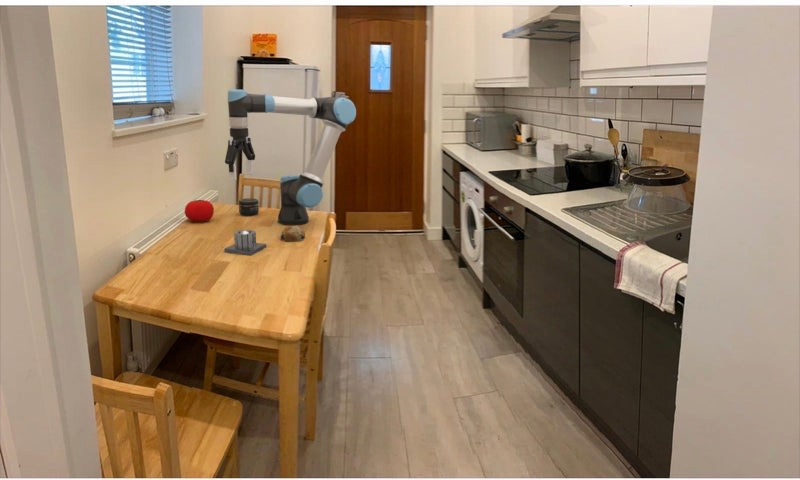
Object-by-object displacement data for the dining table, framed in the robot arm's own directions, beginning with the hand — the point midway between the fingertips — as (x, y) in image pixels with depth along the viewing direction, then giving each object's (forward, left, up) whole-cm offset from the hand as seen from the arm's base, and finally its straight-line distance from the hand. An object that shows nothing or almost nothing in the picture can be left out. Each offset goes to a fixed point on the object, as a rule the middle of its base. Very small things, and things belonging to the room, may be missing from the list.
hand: (241, 177), depth 235 cm
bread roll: (-4, +22, -27) cm, 35 cm away
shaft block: (+18, +12, -27) cm, 34 cm away
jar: (-37, -20, -27) cm, 50 cm away
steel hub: (+18, +12, -25) cm, 33 cm away
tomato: (-16, -34, -27) cm, 46 cm away
